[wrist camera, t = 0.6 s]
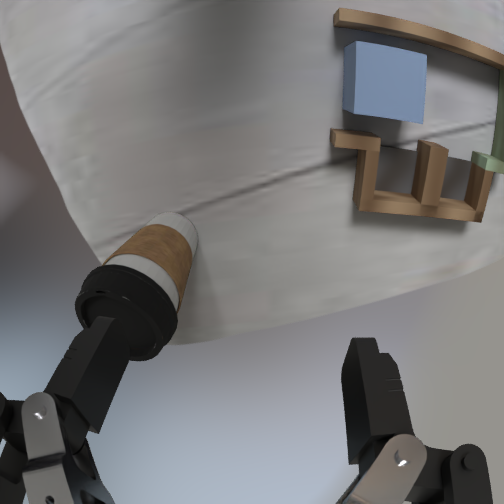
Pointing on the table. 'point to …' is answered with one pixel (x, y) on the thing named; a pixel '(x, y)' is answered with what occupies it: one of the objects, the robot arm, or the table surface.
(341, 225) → the table surface
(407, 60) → the block
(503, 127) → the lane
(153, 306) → the coffee cup
